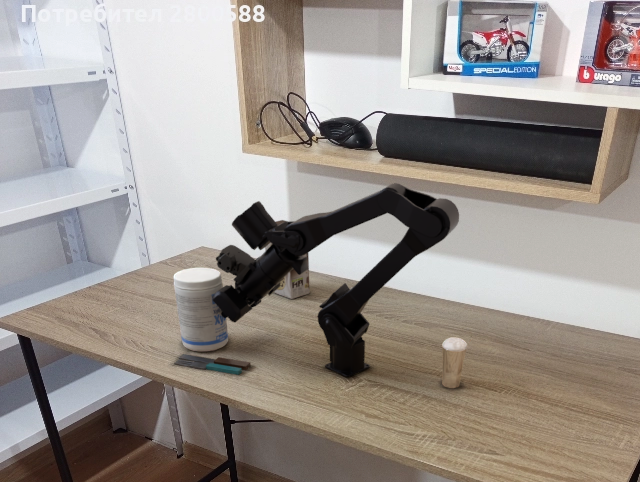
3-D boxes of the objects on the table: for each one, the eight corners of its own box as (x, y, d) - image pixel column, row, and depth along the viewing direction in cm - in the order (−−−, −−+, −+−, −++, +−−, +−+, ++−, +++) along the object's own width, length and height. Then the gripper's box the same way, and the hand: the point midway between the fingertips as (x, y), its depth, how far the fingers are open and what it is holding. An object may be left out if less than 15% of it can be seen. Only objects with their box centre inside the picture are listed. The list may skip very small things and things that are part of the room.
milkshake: (460, 393, 126) (466, 343, 120) (434, 386, 128) (438, 336, 123) (470, 384, 129) (476, 334, 124) (445, 376, 132) (449, 328, 126)
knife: (250, 366, 134) (250, 362, 134) (246, 370, 133) (245, 366, 132) (183, 354, 138) (182, 350, 137) (178, 359, 136) (177, 354, 136)
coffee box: (310, 293, 168) (309, 226, 159) (291, 299, 164) (288, 231, 155) (286, 284, 173) (283, 218, 164) (266, 290, 169) (262, 223, 160)
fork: (242, 371, 132) (242, 367, 132) (238, 375, 131) (237, 371, 130) (179, 360, 136) (178, 356, 135) (173, 364, 134) (173, 360, 134)
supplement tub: (229, 351, 139) (222, 281, 131) (181, 354, 138) (171, 283, 130) (228, 333, 147) (221, 265, 139) (183, 335, 146) (173, 267, 138)
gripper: (262, 221, 134) (218, 270, 143) (216, 248, 119) (169, 300, 128) (301, 266, 137) (254, 311, 146) (260, 297, 122) (211, 345, 131)
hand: (223, 315), depth 138 cm, fingers closed
